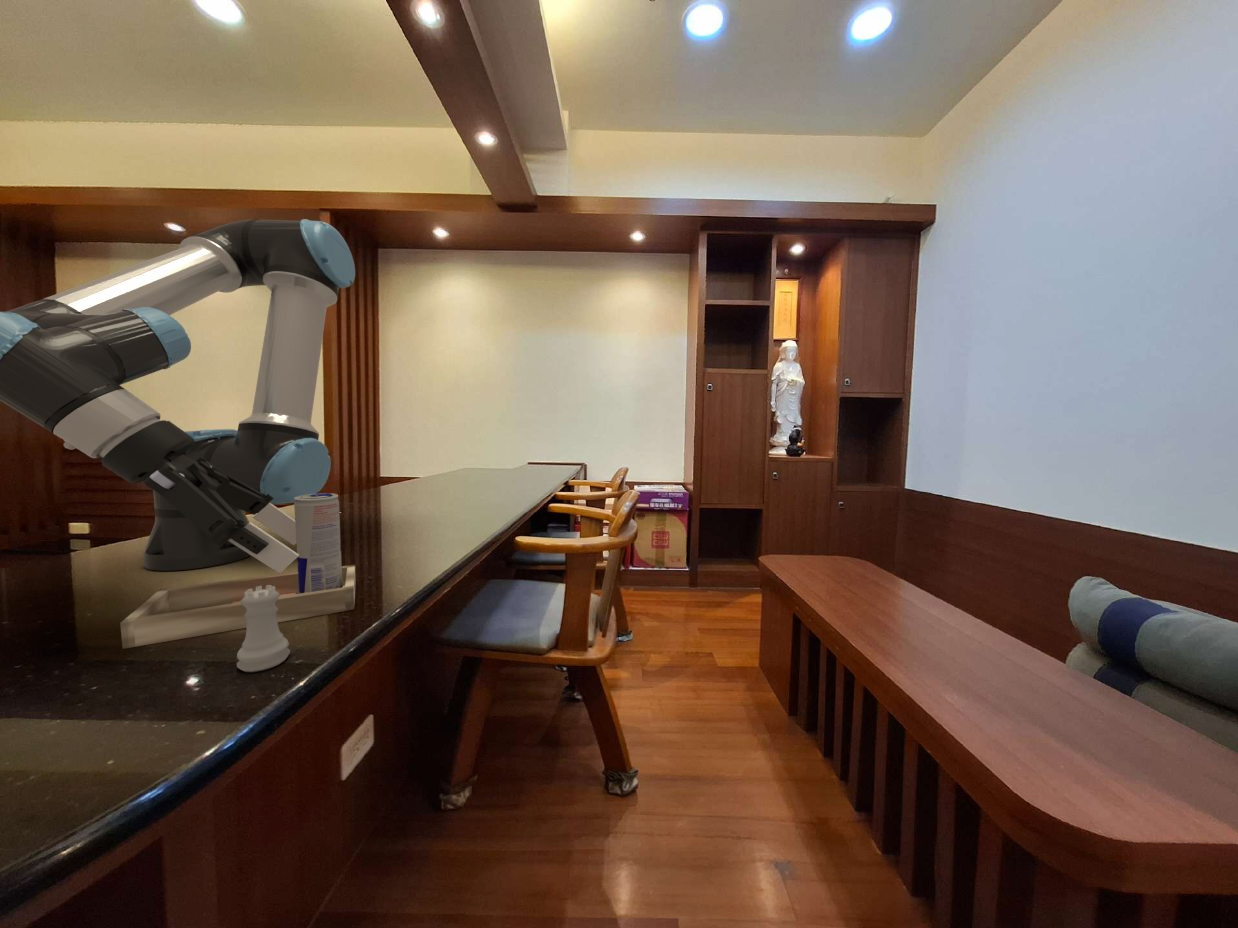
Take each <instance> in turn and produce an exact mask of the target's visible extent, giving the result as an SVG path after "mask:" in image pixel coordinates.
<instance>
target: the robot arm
mask: <svg viewBox="0 0 1238 928" xmlns="http://www.w3.org/2000/svg"><path fill="white" fill-rule="evenodd" d="M355 278H356V267H355V262H354V258H353V255H352V252H351V250H350V248H349V245H348V243H347V241H346V240H345V238H344V237H343V236H342V235H341V233H340V232H339V231H338V230H337V229H336V228H335V227H334V226H332V225H331V224H329V223H327V222H324V221H320V220H309V219H307V218H305V219H304V218H302V219H301V220H291V219H290V220H288V219H287V220H286V219H285V220H283V219H256V218H254V219H250V218H249V219H242V220H235V221H232V222H229V223H226V224H225V223H224V224H223V225H219V226H217V227H213V228H211V229H208V230H206V231H202V232H200V233H198V234H194V235H192V236H187V237H186V238H185V239H183V240H181V242H180V244H179V246H178V249H175V250H172V251H170V252H168V253H164V254H161V255H159V256H156V257H154V258H150V259H148V260H147V259H146V260H145V261H142V262H139V263H137V264H134V265H132V266H128V267H126V268H123V269H121V270H118V271H116V272H112V273H109V274H107V275H105V276H102V277H99V278H96V279H94V280H91V281H88V282H85V283H82V284H80V285H78V286H74V287H72V288H69V289H66V290H63V291H61V292H58V293H56V294H53V295H51V296H47V297H44V298H42V299H39V300H36V301H33V302H30V303H27V304H24V305H22V306H18V307H16V308H13V309H10V310H6V311H0V402H2V403H3V404H5V405H7V406H8V407H10V408H11V409H13V410H14V411H16V412H18V413H19V414H21V415H22V416H24V417H26V418H27V419H29V420H30V421H32V422H34V423H35V424H37V425H39V427H40V426H41V428H44V429H45V430H47V431H48V432H50V433H51V434H53V435H55V436H56V437H58V438H60V439H62V440H64V441H65V442H63V447H64V448H65V449H68V450H75V449H77V450H78V451H80V452H82V453H84V454H85V455H86V456H88V457H90V458H92V459H100V458H102V459H101V464H102V466H103V467H105V468H106V469H108V470H109V471H111V472H112V473H114V474H116V475H117V476H119V477H120V478H122V479H123V480H124V481H126V482H128V483H130V484H138V483H142V482H143V484H144V485H145V486H146V487H148V488H150V489H152V498H153V507H154V519H155V520H154V523H153V527H152V528H151V529H152V530H151V532H150V535H149V538H148V540H147V543H146V545H145V548H144V551H143V555H142V559H143V567H144V568H145V569H147V570H151V571H159V572H162V571H165V572H167V571H168V572H169V571H170V572H171V571H183V570H185V571H186V570H193V569H201V568H207V567H212V566H220V565H225V564H229V563H232V562H233V563H234V562H236V561H240V560H244V559H246V558H249V557H250V556H252V557H253V558H255V559H256V560H258V561H259V562H261V563H262V564H264V565H266V566H267V567H269V568H270V569H272V570H273V571H275V572H276V573H278V574H282V573H283V571H284V570H286V569H287V567H288V566H290V565H291V564H292V563H293V562H294V561H295V560H297V557H298V556H299V554H297V551H294V550H292V548H290V547H289V546H287V545H285V544H284V543H282V541H279V540H278V539H277V538H275V537H274V536H272V535H270V534H269V533H267V531H265V530H264V529H261V528H260V527H259V526H257V525H256V524H254V522H253V523H252V522H251V521H249V519H248V517H247V515H246V513H248V514H250V515H254V516H253V517H252V518H253V520H255V521H257V522H258V523H260V524H261V525H263V526H264V527H265V528H266V529H269V530H270V531H271V532H273V533H274V534H275V535H277V536H279V537H280V538H282V539H283V540H285V541H286V542H288V543H289V544H291V545H292V546H295V545H297V544H296V526H295V518H292V517H291V516H289V515H288V514H286V513H285V512H284V511H283V510H282V509H280V508H279V507H277V506H275V505H285V504H295V501H296V500H294V498H295V497H297V496H302V495H309V494H318V493H319V492H320V491H322V488H323V487H324V486H325V484H326V483H327V481H328V478H329V475H330V472H331V466H332V465H331V464H332V462H331V457H330V455H329V449H328V448H327V446H326V445H325V444H324V443H323V442H321V441H320V439H319V438H320V432H319V431H317V429H316V428H314V426H313V424H312V416H313V411H314V410H313V409H314V402H315V394H316V389H317V380H318V373H319V366H320V358H321V351H322V344H323V338H324V337H323V336H324V331H325V330H324V329H325V322H326V316H327V315H326V314H327V308H329V307H330V306H333V305H335V304H336V303H337V301H338V297H339V291H340V290H339V289H340V288H341V289H345V288H346V289H347V288H349V287H350V286H352V285H353V284H354V281H355ZM254 286H256V287H257V286H266V288H268V290H269V291H270V292H271V293H270V299H269V305H268V311H267V312H268V313H267V318H266V325H265V330H264V337H263V341H262V342H263V343H262V348H261V355H260V362H259V368H258V373H257V374H258V375H257V380H256V386H255V391H254V393H255V394H254V398H253V399H254V400H253V404H252V405H253V406H252V412H251V415H250V416H249V417H246V418H245V419H243V420H241V421H240V422H238V426H237V430H236V429H234V428H233V429H230V428H225V429H222V428H221V429H203V430H202V429H201V430H200V429H199V430H186V431H184V430H182V429H181V428H180V427H179V426H178V425H176V424H174V423H173V422H171V421H170V420H166V419H165V420H164V419H163V420H161V413H160V412H158V410H156V409H155V408H153V407H152V406H150V405H149V404H147V403H146V402H144V401H143V400H141V399H140V398H139V397H137V396H136V395H134V394H133V393H131V392H130V391H129V390H127V389H126V388H124V387H123V386H122V385H124V384H127V383H129V382H131V381H132V382H133V381H135V380H138V379H140V378H142V377H145V376H149V375H151V374H154V373H156V372H159V371H162V370H168V369H169V368H171V367H172V366H174V365H175V364H178V363H180V362H182V361H184V360H185V359H187V358H188V357H189V355H190V354H191V350H192V342H191V339H190V337H189V335H188V333H187V332H186V329H185V328H184V327H183V325H182V324H181V323H179V321H178V320H177V319H175V318H174V317H173V316H171V315H174V314H175V313H177V312H180V311H181V310H183V309H185V308H187V307H189V306H191V305H194V304H196V303H197V302H200V301H202V300H203V299H205V298H207V297H210V296H212V295H214V294H215V293H218V292H219V293H232V292H235V291H237V290H239V289H241V288H242V289H243V288H246V287H254Z"/></svg>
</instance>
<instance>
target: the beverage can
mask: <svg viewBox="0 0 1238 928" xmlns="http://www.w3.org/2000/svg"><path fill="white" fill-rule="evenodd" d="M294 500H296V501H295V503H293V504H294V520H295V526H296V544H295V545H296V553H297V554H299V556H298V557H297V558H296V561H297V572H298V581H299V594H301V593H308V592H315V591H321V590H328V589H335V588H342V587H343V586H342V545H341V525H340V523H341V521H340V503H339V495H338V494H337V493H326V492H325V493H324V492H323V493H316V494H309V495H302V496H297V497H295V498H294Z"/></svg>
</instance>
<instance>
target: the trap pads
mask: <svg viewBox="0 0 1238 928" xmlns="http://www.w3.org/2000/svg"><path fill="white" fill-rule="evenodd" d="M294 594H296V593H290V594H283V595H280V596H287V595H294ZM280 596H279V597H280ZM239 602H240V601H234V602H233V603H239ZM233 603H231V604H233Z"/></svg>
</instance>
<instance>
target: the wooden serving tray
mask: <svg viewBox="0 0 1238 928" xmlns="http://www.w3.org/2000/svg"><path fill="white" fill-rule="evenodd" d="M356 582H357V581H356V564H352V565H351V564H348V565H343V566H342V586H345V587H342V588H335V589H328V590H321V591H315V592H308V593H301V594H299V581H298V571H296V572H295V571H294V572H293V571H292V572H286V573H278V574H270V575H262V576H255V577H247V578H239V579H237V578H236V579H232V580H231V579H230V580H224V581H222V580H221V581H215V582H207V583H198V584H191V585H190V584H189V585H181V586H174V587H168V588H160V589H159V590H157V592H155V593H154V594H153V595H151V597H150V598H148V599H147V600H146V601H145V602H143V603H142V604H141V605H140V606H139V607H137V608H136V609H135V610H134V611H133V612H132V613H130V614H129V615H127V617H126V618H124V619H122V621H121V622H120V636H121V643H122V645H121V646H122V649H123V650H124V649H130V648H134V647H140V646H147V645H152V644H159V643H163V642H164V643H165V642H169V641H177V640H182V639H187V638H193V637H194V638H195V637H199V636H206V635H212V634H217V633H223V632H224V633H225V632H231V631H235V630H241V629H247V619H246V618H245V617H244V615H245V613H246V611H247V609H246V608H245V607H244V606H243V605H242V604H241V603H240V602H239V603H233V602H234V601H241V600H242V599H243V598H244V596H245V595H244V592H246V590H248V589H250V588H251V589H253V592H254V591H256V587H258V586H262V590H265V589H266V586H267V585H272V587H273V586H275V590H276V591H277V592H278V593H279V594H280V595H283V594H290V593H296V594H294V595H287V596H280V597H279V598H278V599H277V601H276V602H275V606H276V607H277V608H278V610H277V612H276V619H277V623H282V622H287V621H293V620H300V619H305V618H311V617H318V616H323V615H328V614H335V613H340V612H341V613H342V612H346V611H352V610H353V611H354V610H355V602H356V601H355V600H356V585H357V583H356ZM232 603H233V604H232Z"/></svg>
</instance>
